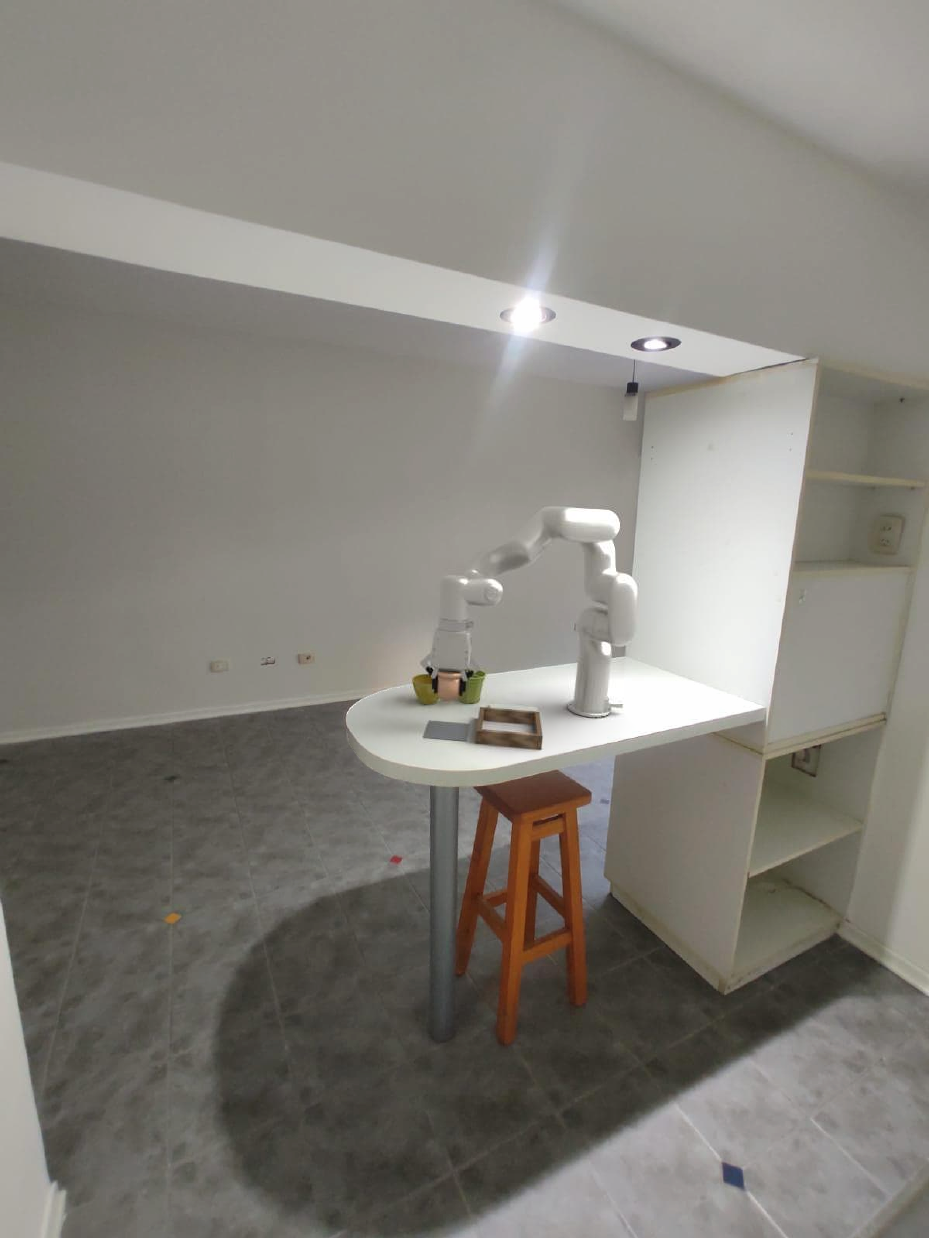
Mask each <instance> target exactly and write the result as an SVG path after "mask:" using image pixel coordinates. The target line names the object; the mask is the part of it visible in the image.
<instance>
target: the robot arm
mask: <svg viewBox="0 0 929 1238" xmlns="http://www.w3.org/2000/svg"><path fill="white" fill-rule="evenodd" d="M619 531H620V520H619V517H618V516H617V515H616V513H614V512H613V511H612V510H609V509H598V508H597V509H596V508H587V507H586V508H585V507H584V508H579V507H572V506H557V505H556V506H555V505H553V506H552V505H551V506H545V507H543V508H542V509H540V510H539V511H538V512H536V513H535V515H534V516H532V518H530V519H529V520H528V521H527V522H526V523H525V524H524V525H523V526H522V527H521V528H520V529H519V530H518V531H517V532H516V533H515V534H514V535H512V537H511V538H510V539H508V540H507V541H506V542H504V543H502V544H500V545H498V546H497V547H495V548H493V549H491V550H490V551H488V552H486V553H485V554H483V555H482V556H480V557H479V558H477V560H476V561H474V562H473V563H472V564H471V565H470V566H469V567H468V568H467V569H466V570H465V571H463V574H462V575H459V574H458V575H457V574H456V575H455V574H448V575H447V574H446V575H444V576H442V577H441V578H440V582H439V583H440V584H439V595H438V596H439V599H438V617H437V627H435V628H434V632H433V635H432V641H431V642H432V643H431V647H430V649H431V650H430V653H428V654H427V655H425V657H423V658H422V660H420V661H419V665H420V666H421V667H422V668H423V669H425V671H426V673H427V674H429V675H430V676H431V678H432V689H434V694H436V693H437V683H438V675H437V671H439V669H448V670H460V673H462V678H461V681H460V696H462V695H463V692H466V681H467V679H469V678H470V677H471V676H472V675H473V674H474V673H476V672H477V671H478V670H481V664H480V663H478V661H476V659H475V658H474V657H473V656H472V634H471V630H469V629H470V628H474V626H475V625H474V624H475V623H474V622H475V621H471V620H469V611H470V606H478V607H493V606H495V605H497V604H499V602H500V601H501V599H502V598H503V596H504V595H503V594H504V589H503V586H502V584H501V583H500V581H499V580H497V579H496V578H498V577H499V576H501V575H503V574H505V573H507V572H510V571H514V570H518V569H523V568H525V567H528V566H531V565H532V564H534V563H535V561H537V559H538V558H539V557H540V556H541V555H542V554H544V553H545V551H546V550H547V549H549V547H550V546H551V545H552V544H554V542H556V541H563V542H572V543H579V545H580V547H581V549H582V551H583V560H584V561H583V562H584V565H583V567H584V571H583V573H584V574H583V591H584V594H585V597H586V598H587V599H589V600H590V601H592V602H596V603H599V604H602V605H605V606H602V605H597V604H595V605H590V606H587V607H585V608H584V609H583V610H582V611H581V612H580V614H579V617H578V622H577V625H578V626H577V627H578V638H579V639H578V641H579V642H578V656H577V666H576V673H575V674H576V675H575V684H574V685H575V687H574V693H573V699H572V700H570V701H569V702H568V703H567V708H568V709H567V710H569V711H570V712H571V713H574V714H575V715H578V716H581V715H582V716H581V717H586V716H587V718H595V717H597V718H602V717H601V716H604V715H608V714H609V713H610V712H611V711H612V708H615V709H623V707H624V702H623V701H618V699H616V698H613V699H612V698H609V697H608V691H609V684H610V683H609V681H610V675H611V674H610V673H611V666H612V665H611V664H612V657H613V655H612V654H613V652H612V646H614V647H625V646H627V645H629V644H630V643H631V642H632V640H633V639H634V637H635V634H636V630H637V620H638V615H637V614H638V599H639V598H638V597H639V596H638V592H639V591H638V587H637V584H636V581H635V580H634V579H633V578H632V576H631V575H629V574H627V573H624V572H619V571H617V569H616V549H615V545H614V543H613V542H614V541H613V540H614V539H615V538H616V537H617V535H618V533H619ZM428 662H429V663H430V665H429V663H428ZM470 665H471V666H472V668H470V667H471V666H470ZM467 669H471V670H469V671H468V672H467V671H466V670H467ZM611 713H612V712H611ZM611 713H610V714H611ZM610 714H609V715H610ZM609 715H608V716H609ZM599 716H600V717H599Z"/></svg>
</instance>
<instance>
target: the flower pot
mask: <svg viewBox="0 0 929 1238" xmlns="http://www.w3.org/2000/svg"><path fill="white" fill-rule="evenodd" d="M411 680H412V681H411V682H412V686H413V690H414V692H415V695H416V698H417V700H418V701H419V702H420V703H421V704H422V703H423V704H422V705H435V704H437V703H438V702H439V700H440V699H439V698H437V693H436V694H434V689H432V678H431V676H430V675H429V673H421V674H417V675H414V676H412V678H411Z"/></svg>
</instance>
